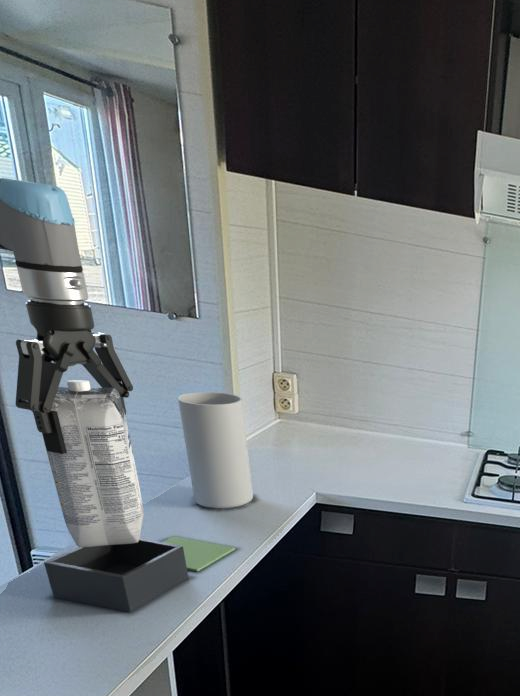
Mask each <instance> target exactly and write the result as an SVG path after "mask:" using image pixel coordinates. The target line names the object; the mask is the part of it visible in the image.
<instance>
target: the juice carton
mask: <svg viewBox="0 0 520 696" xmlns="http://www.w3.org/2000/svg"><path fill="white" fill-rule="evenodd" d="M66 385H67V386H64V387H63V386H59V387H58V390H57V393H56V396H55V399H54V402H53V405H52V408H51V411H56V412H57V413H58V418H59V422H60V426H61V430H62V434H63V438H64V442H65V447H66V451H67V453H65V454H59V453H54V452H48V451H47V450H46V449H45V451H46V454H47V455H46V456H47V458H48V459H47V460H48V463H49V466H50V470H51V475H52V478H53V480H54V481H53V482H54V486H55V488H56V494H57V497H58V501H59V505H60V509H61V512H62V516H63V519H64V523H65V527H66V528H67V530H68V532H69V534H70V536H71V538H72V540H73V541H74V543H75V545H76V546H77V548H78V547H92V546H103V545H116V544H131V543H138V541H139V538H141V532H142V526H143V523H144V522H143V521H144V512H145V510H144V503H143V499H142V493H141V487H140V482H139V477H138V472H137V467H136V463H135V457H134V452H133V451H134V450H133V447H132V441H131V437H130V432H129V427H128V422H127V418H126V415H125V413H124V410H123V406H122V402H121V398H120V395H119V393H118V391H117V390H116V389H115V388H102V387H93V388H92V387H91V383H90V380H87V379H85V380H84V379H71V380H69V379H67V380H66ZM40 404H42V401H41V403H40ZM41 435H42V436H43V434H42V433H41ZM42 439H43V440H44V438H43V437H42ZM43 443H44V444H45V442H44V441H43ZM44 446H45V445H44ZM45 448H46V446H45Z"/></svg>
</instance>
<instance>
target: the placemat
mask: <svg viewBox="0 0 520 696" xmlns="http://www.w3.org/2000/svg"><path fill="white" fill-rule="evenodd" d="M162 542H163V543H168V544H174V545H179V546H183V550H184V555H185V561H186V566H187V571H191V572H192V571H193V572H199V571H201V570H203V569H204V568H206V567H208V566H209V565H211V564H213V563H215V562H216V561H218V560H219V559H221V558H223V557H225V556H227V555H229V554H230V553H232V552H233V551H235V550H236V547H234V546H228V545H223V544H218V543H213V542H208V541H203V540H202V541H201V540H196V539H191V538H185V537H182V536H181V537H180V536H175V535H173V536H171V537H169V538H167V539H166V540H163V541H162Z"/></svg>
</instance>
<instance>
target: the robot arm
mask: <svg viewBox="0 0 520 696" xmlns="http://www.w3.org/2000/svg"><path fill="white" fill-rule="evenodd" d="M68 199H69V198H68V196H67V194H66V192H65V191H64V190H63V189H62V188H61V187H60V186H57V185H53V184H47V183H40V182H34V181H27V180H20V179H13V178H7V177H6V178H5V177H1V178H0V250H1V251H2V250H3V251H8V252H12V253H13V257H14V262H15V266H16V269H17V274H18V278H19V282H20V283H19V284H20V287H21V291H22V294H23V295H24V296H25V297H27V298H29V299H27V300H26V302H25V306H26V307H25V308H26V310H27V316H28V318H29V319H28V320H29V322H30V324H31V326H32V327H33V328H34V329H35V330H36V338H35V339H34V340H33V339H32V340H26V339H21V338H18V339H16V341H15V346H16V349H17V353H18V364H17V365H18V366H17V379H16V390H15V391H16V392H15V407H17V408H18V409H23V410H27V411H30V412H32V415H33V418H34V421H35V425H36V429H37V431H38V432H39V433H41V435H42V434H43V435H42V439H43V438H44V439H43V443H44V442H45V443H44V446H46V447H45V451H46V450H47V451H48V452H54V453H59V454H65V453H67V451H66V447H65V442H64V438H63V434H62V430H61V426H60V422H59V418H58V413H57V412H56V411H51V408H52V405H53V402H54V399H55V396H56V393H57V390H58V387H60V383H61V380H62V377H63V375H64V373H66V372H67V371H68V369H69V367H75V366H76V365H81V366H82V367H83V368H84V369H85V370H86V371H87V373H89V374H90V376H91V377H92V378H93V379H94V380H95V382H96V383H97V384H98V385H99V386H100V388H115V389H116V390H117V391H118V393H119V395H120V398H121V402H122V406H123V410H124V413H125V416H126V415H127V408H126V404H125V398H126V399H127V398H129V397H130V392H132V391H133V390H134V385H133V384H132V382H131V380H130V377H129V376H128V374H127V372H126V369H125V368H124V366H123V364H122V362H121V360H120V358H119V356H118V353H117V352H116V350H115V347H114V342H113V337H112V335H111V334H108V333H102V332H98V331H97V332H96V331H93V332H92V330H93V329H94V328H95V321H94V316H93V312H92V311H93V310H92V307H91V305H89V303H87V302H85V301H88V299H89V293H88V288H87V283H86V279H85V274H84V269H83V265H82V260H81V255H80V249H79V244H78V239H77V232H76V227H75V224H76V222H75V218H74V217H73V213H72V210H71V207H70V203H69V200H68ZM41 401H42V404H40V403H41ZM47 451H46V452H47Z"/></svg>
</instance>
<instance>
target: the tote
mask: <svg viewBox="0 0 520 696" xmlns="http://www.w3.org/2000/svg"><path fill="white" fill-rule="evenodd" d="M43 565H44V569H45V571H46V575H47V578H48V582H49V586H50V590H51V592H52V597H53V598H56V599H62V600H66V601H71V602H75V603H80V604H81V603H82V604H87V605H90V606H91V605H92V606H97V607H100V608H101V607H102V608H107V609H112V610H118V611H122V612H127V613H132V612H133V611H135V610H137V609H139V608H140V607H142V606H144V605H146V604H147V603H149V602H151V601H152V600H154V599H155V598H157V597H159V596H161V595H162V594H163V593H165V592H168V591H169V590H171V589H172V588H174V587H176V586H177V585H180V584H181V583H183V582H185V581H186V580H188V579H189V578H190V577H189V572H188V570H187V566H186V561H185V555H184V550H183V546H179V545H174V544H168V543H163V541H157V540H152V539H147V538H142V537H140V538H139V541H138V543H131V544H116V545H103V546H92V547H78V546H77V547H76V548H74V549H71V550H70V551H69V550H68V551H67V552H64V553H62V554H60V555H58V556H55V557H53V558H50V559H48V560H47V561H44V562H43Z"/></svg>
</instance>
